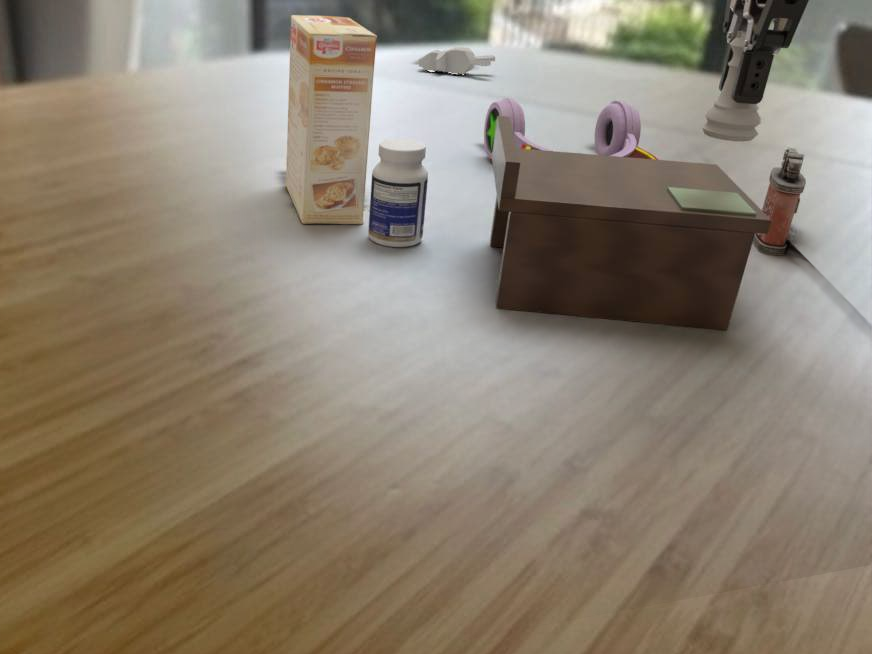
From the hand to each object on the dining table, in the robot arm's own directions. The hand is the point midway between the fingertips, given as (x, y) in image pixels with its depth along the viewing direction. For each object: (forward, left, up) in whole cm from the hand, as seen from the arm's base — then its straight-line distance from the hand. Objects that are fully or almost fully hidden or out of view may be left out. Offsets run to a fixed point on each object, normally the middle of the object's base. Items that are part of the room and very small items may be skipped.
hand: (738, 96), depth 73 cm
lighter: (-14, -22, -19) cm, 32 cm away
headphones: (+5, -45, -19) cm, 49 cm away
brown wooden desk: (+7, -5, -19) cm, 21 cm away
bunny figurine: (+21, -119, -19) cm, 122 cm away
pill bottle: (+27, -12, -19) cm, 35 cm away
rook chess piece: (0, 0, -3) cm, 3 cm away
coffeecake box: (+36, -22, -19) cm, 46 cm away
